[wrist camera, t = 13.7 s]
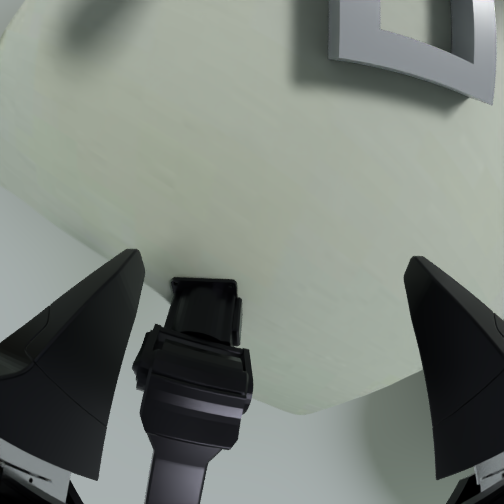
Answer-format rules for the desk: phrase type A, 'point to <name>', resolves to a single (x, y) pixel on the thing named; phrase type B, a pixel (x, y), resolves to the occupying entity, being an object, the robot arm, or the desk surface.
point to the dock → (420, 46)
